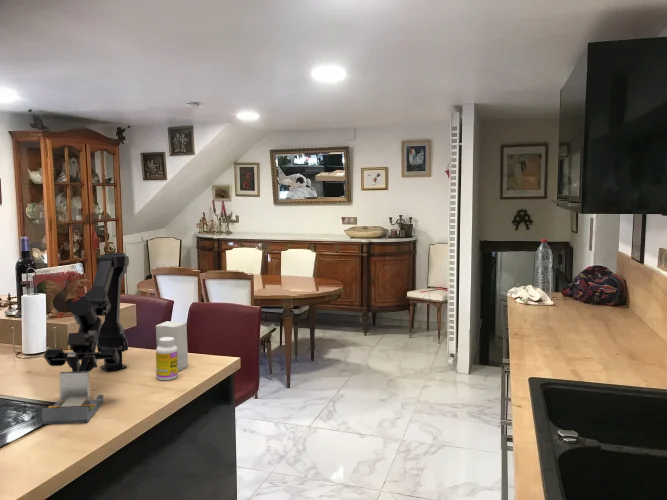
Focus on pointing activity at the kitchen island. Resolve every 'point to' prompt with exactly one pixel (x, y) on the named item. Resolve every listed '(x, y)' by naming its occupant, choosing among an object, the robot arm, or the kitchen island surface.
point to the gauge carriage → (74, 389)
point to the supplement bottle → (166, 359)
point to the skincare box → (175, 339)
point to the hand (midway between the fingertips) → (76, 384)
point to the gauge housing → (71, 413)
